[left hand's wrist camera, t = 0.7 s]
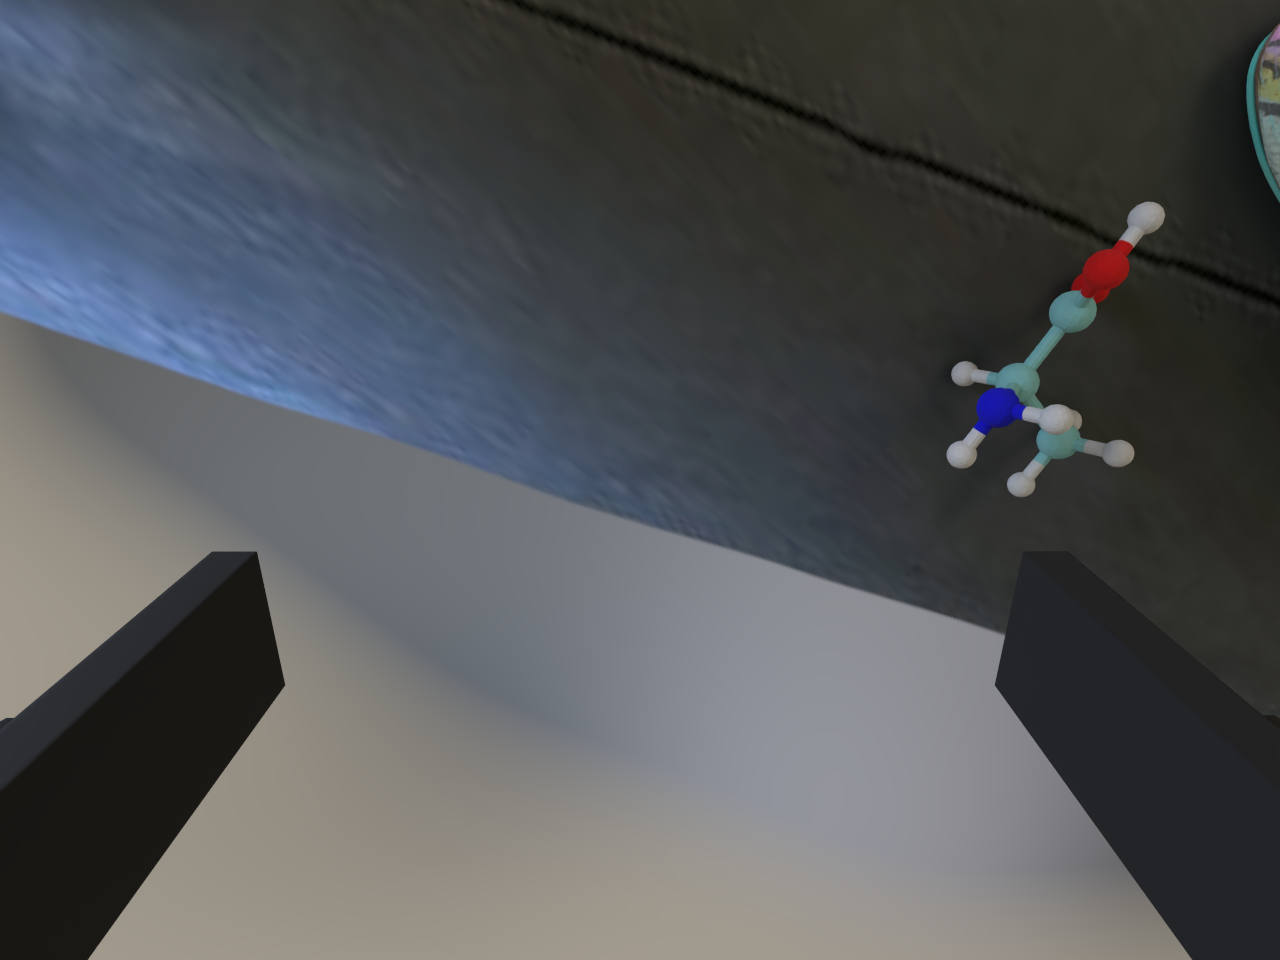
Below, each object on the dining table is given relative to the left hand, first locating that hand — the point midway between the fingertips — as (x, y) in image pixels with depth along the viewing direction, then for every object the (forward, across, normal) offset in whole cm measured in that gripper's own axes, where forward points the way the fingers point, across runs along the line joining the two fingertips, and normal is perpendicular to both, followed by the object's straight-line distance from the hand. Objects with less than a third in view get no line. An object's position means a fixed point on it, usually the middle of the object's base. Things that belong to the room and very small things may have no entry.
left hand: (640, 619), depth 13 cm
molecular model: (+25, +18, -1) cm, 31 cm away
